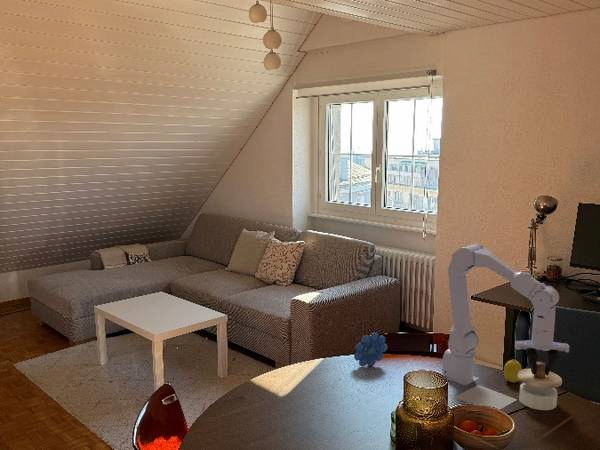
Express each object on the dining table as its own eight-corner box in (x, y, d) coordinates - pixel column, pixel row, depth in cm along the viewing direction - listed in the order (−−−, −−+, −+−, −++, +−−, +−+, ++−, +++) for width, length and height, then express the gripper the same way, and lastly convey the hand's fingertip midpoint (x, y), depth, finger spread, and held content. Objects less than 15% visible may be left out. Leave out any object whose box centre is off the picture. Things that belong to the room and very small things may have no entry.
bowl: (512, 402, 168) (513, 388, 168) (529, 392, 175) (530, 378, 174) (545, 415, 161) (546, 400, 160) (562, 404, 167) (563, 390, 166)
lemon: (522, 387, 178) (524, 363, 177) (504, 386, 179) (505, 362, 178) (519, 380, 183) (521, 356, 182) (501, 378, 184) (503, 355, 183)
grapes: (382, 360, 199) (383, 327, 197) (389, 367, 192) (390, 334, 191) (350, 362, 197) (351, 329, 195) (356, 370, 190) (356, 336, 188)
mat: (453, 398, 170) (454, 397, 170) (478, 386, 179) (478, 384, 178) (493, 415, 161) (493, 413, 160) (517, 401, 169) (517, 399, 169)
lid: (509, 378, 167) (510, 362, 166) (530, 367, 175) (531, 352, 174) (549, 392, 158) (550, 376, 157) (569, 380, 166) (570, 364, 165)
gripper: (520, 332, 161) (517, 377, 163) (574, 335, 159) (570, 380, 161) (514, 324, 168) (511, 367, 170) (566, 326, 166) (562, 370, 168)
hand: (539, 373), depth 166 cm, fingers closed on lid, 3 cm apart
